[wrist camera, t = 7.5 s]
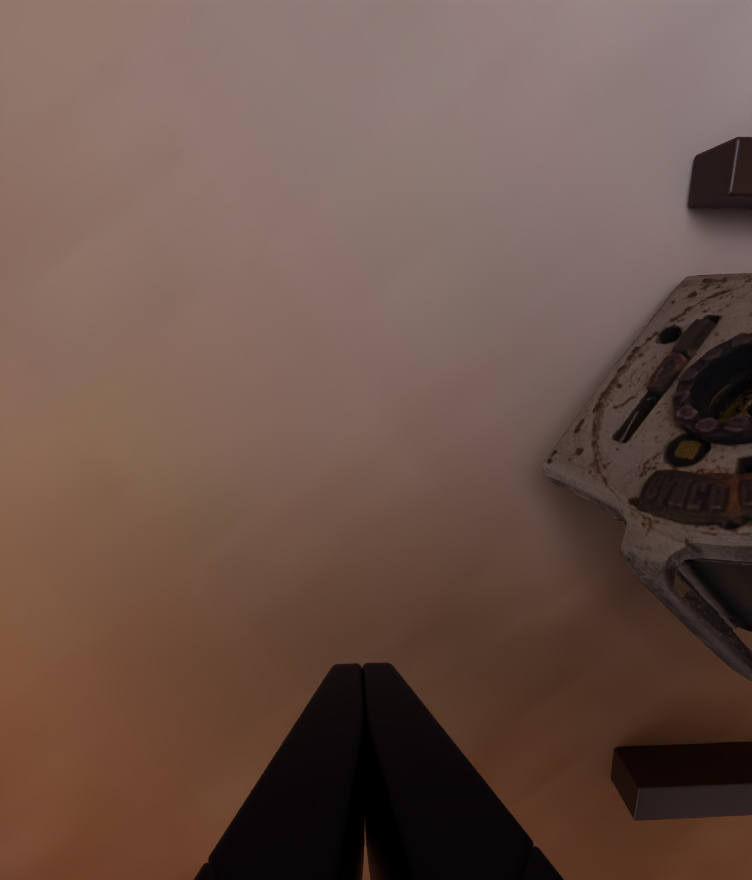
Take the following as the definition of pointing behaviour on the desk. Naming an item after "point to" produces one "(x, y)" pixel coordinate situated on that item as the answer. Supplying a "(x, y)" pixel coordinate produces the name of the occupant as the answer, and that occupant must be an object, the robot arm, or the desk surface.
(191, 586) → the desk surface
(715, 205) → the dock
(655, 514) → the mechanical counter
